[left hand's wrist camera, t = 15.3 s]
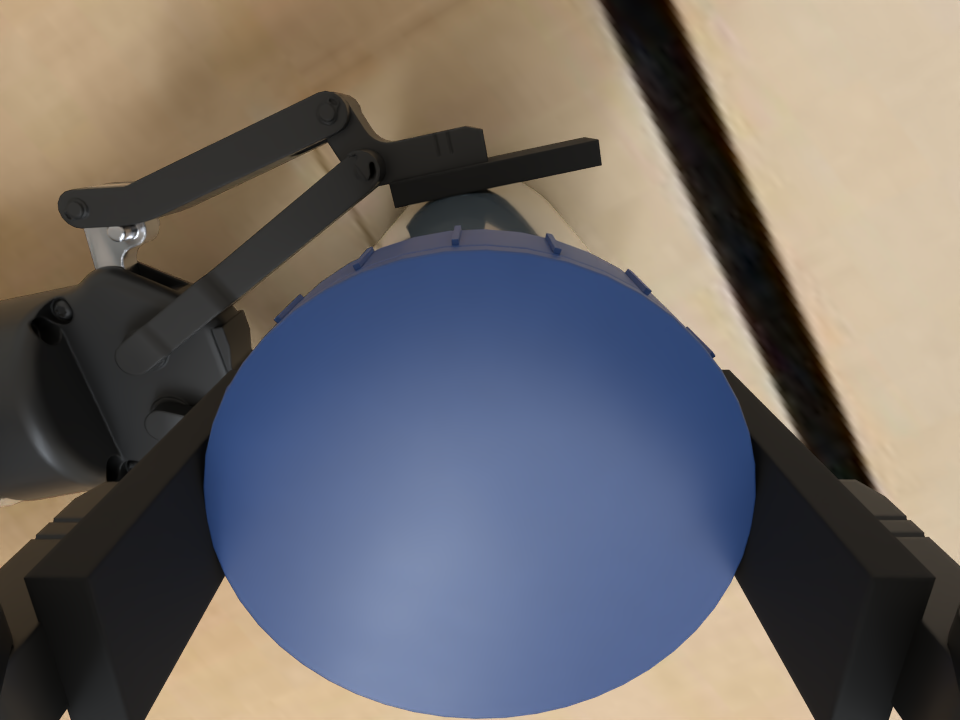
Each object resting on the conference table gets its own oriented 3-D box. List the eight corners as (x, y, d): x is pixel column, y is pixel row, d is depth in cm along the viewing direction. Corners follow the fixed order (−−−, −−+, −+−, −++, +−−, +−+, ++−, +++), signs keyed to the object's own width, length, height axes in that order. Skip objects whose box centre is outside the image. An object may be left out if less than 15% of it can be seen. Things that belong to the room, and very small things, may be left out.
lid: (742, 602, 14) (780, 674, 12) (331, 680, 14) (311, 757, 13) (689, 165, 10) (732, 174, 8) (159, 299, 11) (99, 333, 9)
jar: (427, 380, 30) (358, 718, 13) (356, 212, 27) (148, 367, 10) (596, 324, 29) (759, 612, 12) (541, 143, 26) (653, 187, 9)
